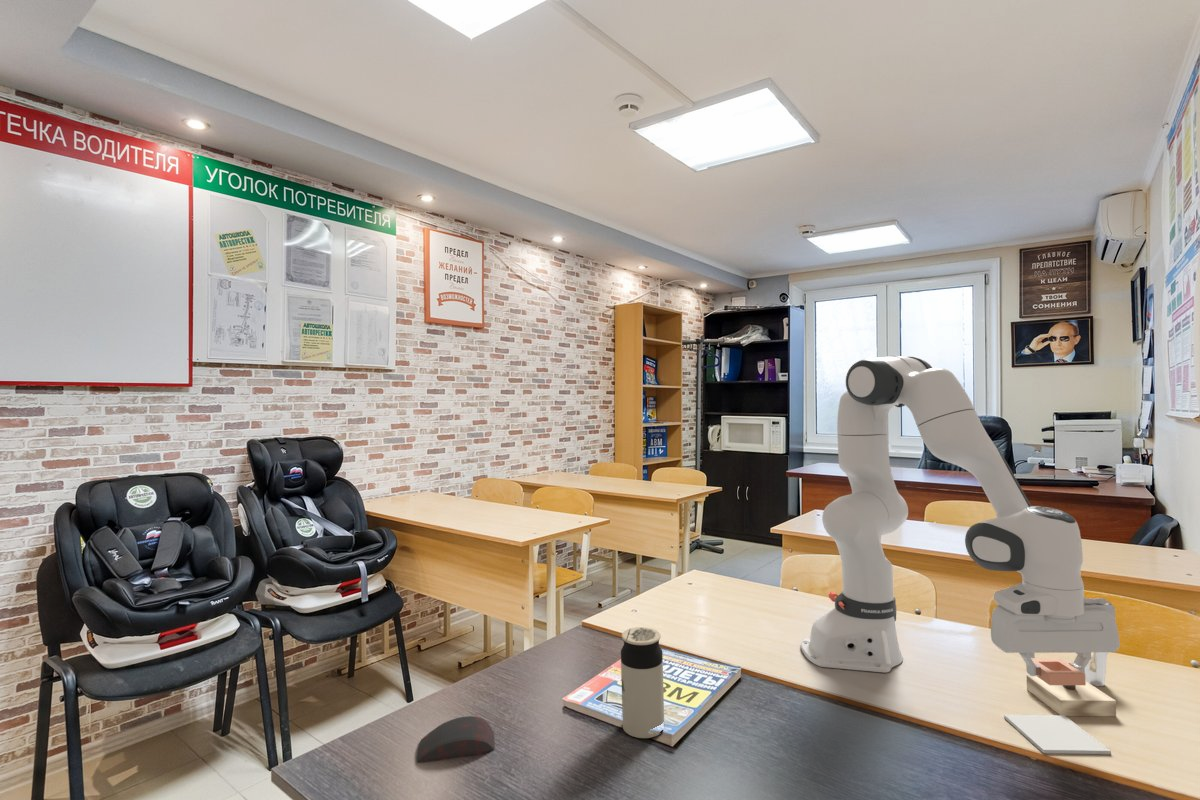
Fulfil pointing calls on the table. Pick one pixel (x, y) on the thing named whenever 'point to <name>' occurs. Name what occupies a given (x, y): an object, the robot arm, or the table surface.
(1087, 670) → the milkshake
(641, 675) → the travel mug
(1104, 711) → the peg stand
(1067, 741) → the mat
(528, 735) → the table surface
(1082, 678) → the pink rectangular frame
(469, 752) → the computer mouse
